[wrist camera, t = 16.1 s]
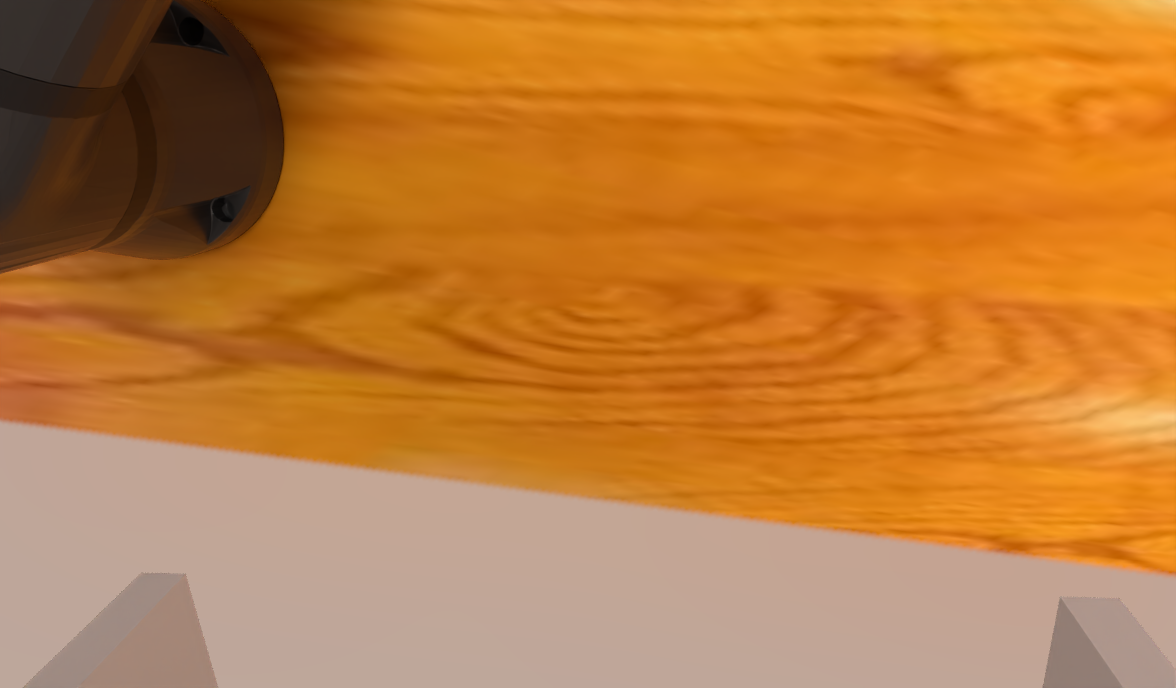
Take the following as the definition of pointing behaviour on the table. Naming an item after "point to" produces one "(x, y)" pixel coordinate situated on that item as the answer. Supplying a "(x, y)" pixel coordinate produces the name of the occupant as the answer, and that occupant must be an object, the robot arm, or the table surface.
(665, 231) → the table surface
